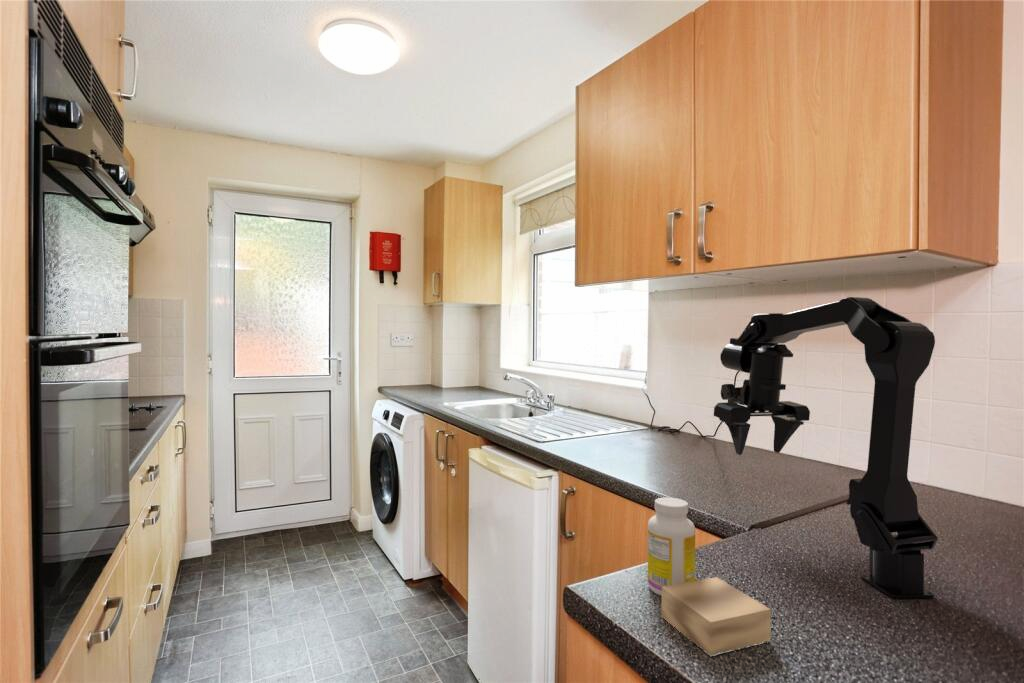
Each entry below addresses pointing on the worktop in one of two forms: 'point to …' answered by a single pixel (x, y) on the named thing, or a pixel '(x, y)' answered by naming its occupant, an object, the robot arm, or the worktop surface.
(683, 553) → the supplement bottle
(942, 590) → the worktop surface
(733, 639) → the oak block
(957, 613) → the worktop surface
